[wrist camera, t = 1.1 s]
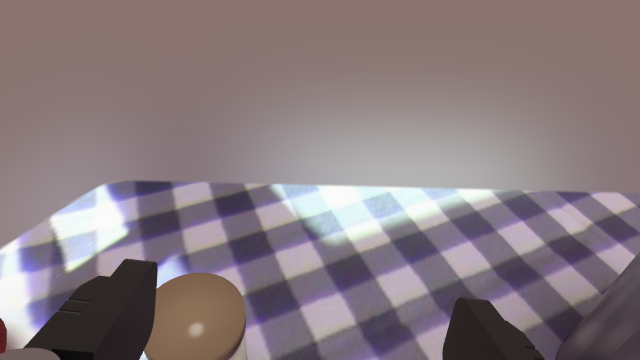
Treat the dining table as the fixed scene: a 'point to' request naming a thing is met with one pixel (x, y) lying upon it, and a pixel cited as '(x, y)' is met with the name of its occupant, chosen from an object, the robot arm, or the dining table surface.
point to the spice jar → (198, 320)
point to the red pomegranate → (2, 336)
